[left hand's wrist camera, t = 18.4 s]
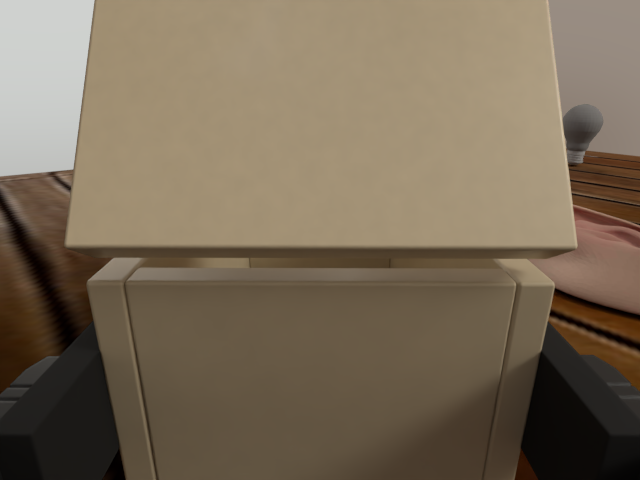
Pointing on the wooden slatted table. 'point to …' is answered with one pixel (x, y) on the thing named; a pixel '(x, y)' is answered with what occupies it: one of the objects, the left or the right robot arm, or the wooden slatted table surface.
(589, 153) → the wooden slatted table surface
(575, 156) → the light bulb
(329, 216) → the lid
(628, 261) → the anatomical model
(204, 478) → the chest
